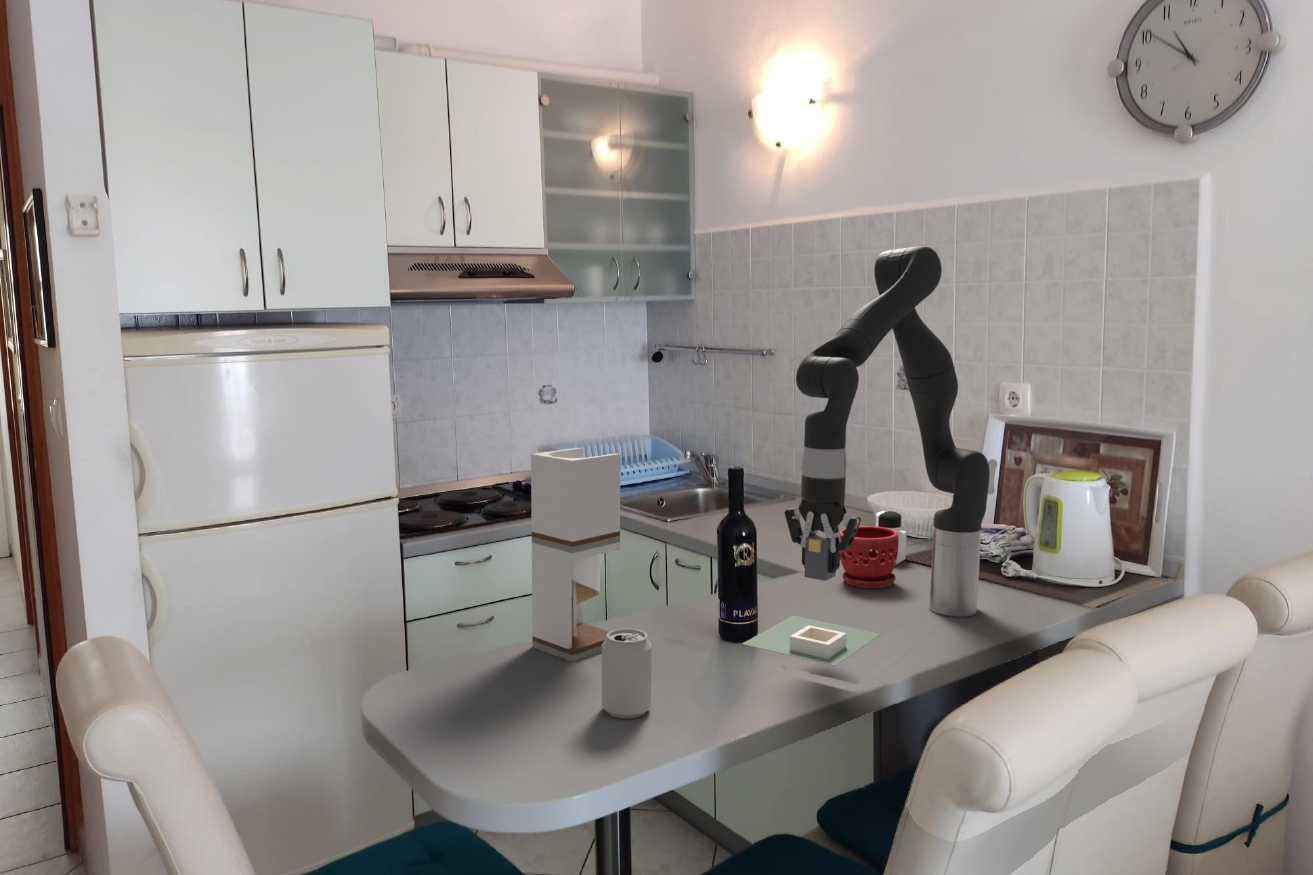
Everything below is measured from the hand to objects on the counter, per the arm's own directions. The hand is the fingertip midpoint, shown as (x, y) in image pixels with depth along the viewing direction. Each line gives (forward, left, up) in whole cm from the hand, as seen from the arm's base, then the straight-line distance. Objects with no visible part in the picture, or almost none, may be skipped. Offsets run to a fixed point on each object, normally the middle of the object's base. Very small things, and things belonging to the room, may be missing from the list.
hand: (820, 569), depth 168 cm
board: (-4, -3, -15) cm, 16 cm away
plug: (0, 0, -1) cm, 1 cm away
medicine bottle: (-70, -15, -16) cm, 73 cm away
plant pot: (-48, -11, -16) cm, 52 cm away
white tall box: (+22, -37, -16) cm, 46 cm away
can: (+39, -13, -16) cm, 44 cm away
